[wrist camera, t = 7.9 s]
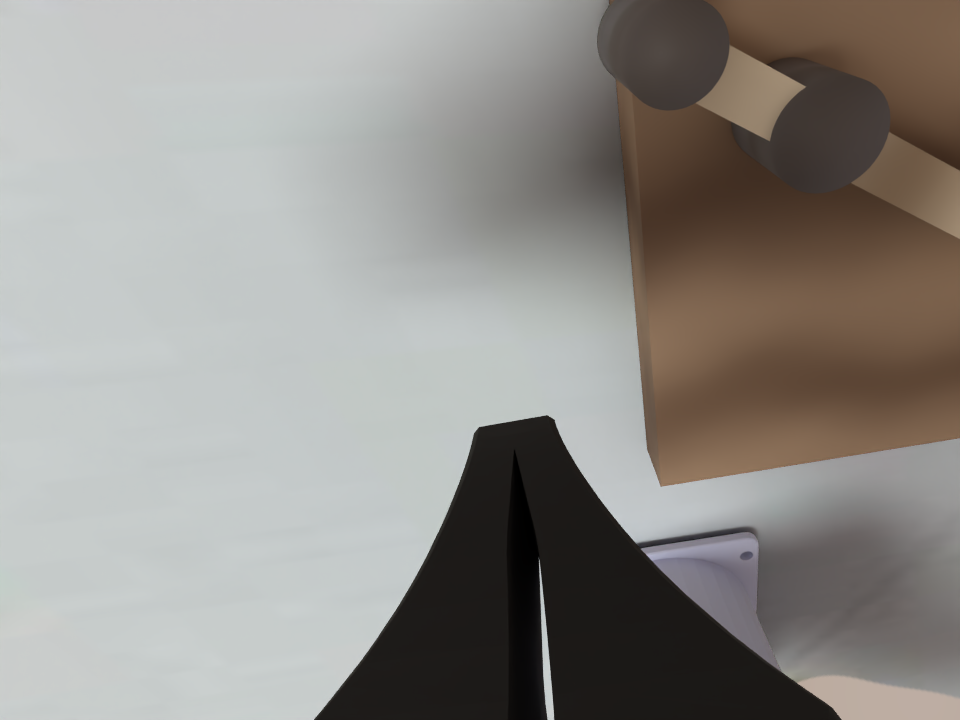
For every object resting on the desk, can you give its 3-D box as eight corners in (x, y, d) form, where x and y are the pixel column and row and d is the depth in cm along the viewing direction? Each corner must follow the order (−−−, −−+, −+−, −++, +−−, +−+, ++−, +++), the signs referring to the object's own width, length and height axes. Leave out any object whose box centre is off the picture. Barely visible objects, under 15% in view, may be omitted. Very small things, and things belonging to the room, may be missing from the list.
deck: (1014, 387, 24) (1057, 422, 22) (647, 449, 25) (660, 486, 23) (1207, -297, 14) (1308, -329, 12) (596, -147, 15) (613, -159, 14)
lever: (1105, 225, 18) (1210, 272, 16) (1033, 298, 19) (1121, 353, 17) (630, -41, 14) (666, -36, 12) (577, 68, 16) (599, 94, 13)
